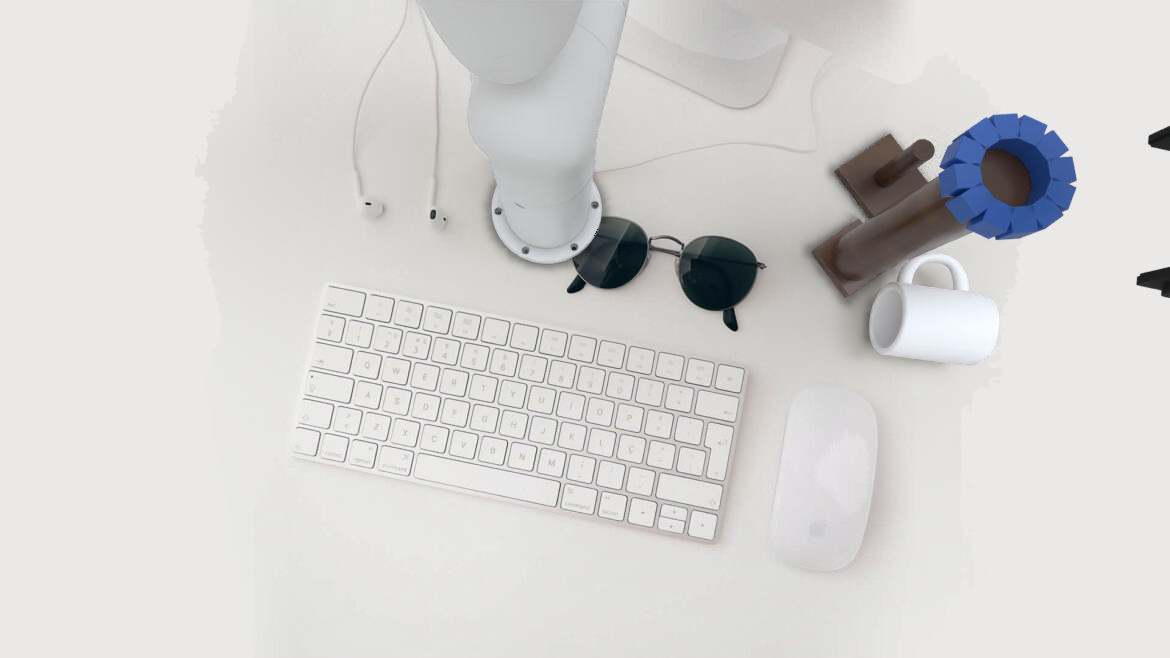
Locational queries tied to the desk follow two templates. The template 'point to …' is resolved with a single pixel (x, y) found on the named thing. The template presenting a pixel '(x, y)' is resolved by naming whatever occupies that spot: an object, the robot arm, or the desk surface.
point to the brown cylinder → (914, 225)
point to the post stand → (885, 173)
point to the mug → (933, 318)
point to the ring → (1036, 155)
